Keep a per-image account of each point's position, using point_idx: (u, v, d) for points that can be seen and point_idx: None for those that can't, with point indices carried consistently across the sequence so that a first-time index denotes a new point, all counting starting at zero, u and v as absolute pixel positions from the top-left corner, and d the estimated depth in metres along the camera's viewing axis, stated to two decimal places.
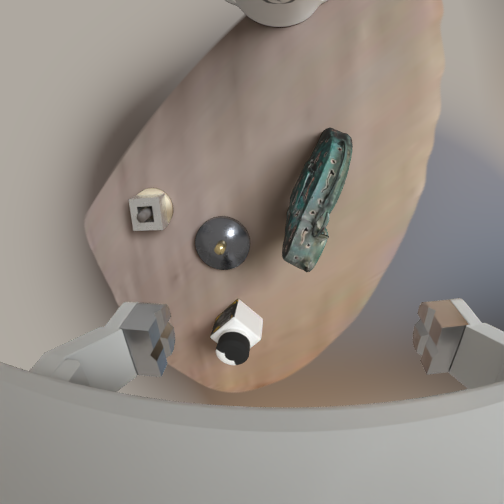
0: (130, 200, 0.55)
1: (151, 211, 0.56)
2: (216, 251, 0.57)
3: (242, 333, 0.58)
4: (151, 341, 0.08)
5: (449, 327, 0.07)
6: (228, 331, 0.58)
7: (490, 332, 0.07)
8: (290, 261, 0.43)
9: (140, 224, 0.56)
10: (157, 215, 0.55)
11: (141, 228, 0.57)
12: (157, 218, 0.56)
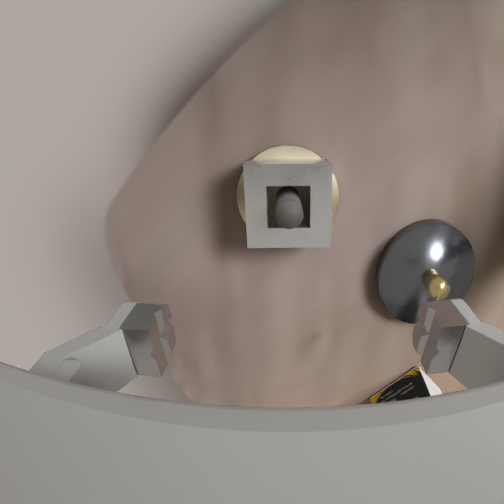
0: (248, 168, 0.21)
1: (300, 200, 0.23)
2: (435, 294, 0.24)
3: None
4: (151, 341, 0.08)
5: (449, 327, 0.07)
6: None
7: (490, 331, 0.07)
8: None
9: (270, 232, 0.23)
10: (322, 211, 0.22)
11: (271, 242, 0.23)
12: (320, 218, 0.22)
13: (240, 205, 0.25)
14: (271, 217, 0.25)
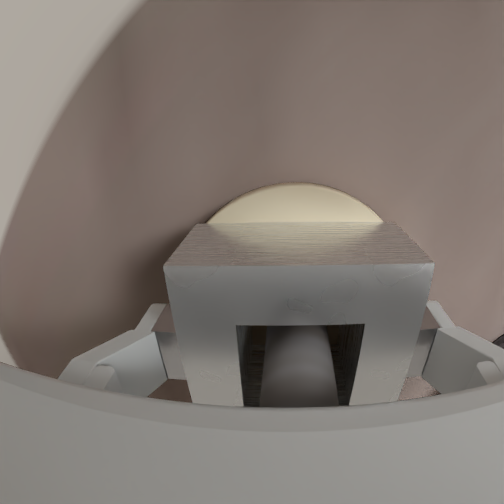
0: (180, 276, 0.07)
1: (328, 342, 0.08)
2: None
3: None
4: None
5: None
6: None
7: (463, 335, 0.07)
8: None
9: None
10: (384, 376, 0.08)
11: None
12: (377, 390, 0.08)
13: None
14: (256, 354, 0.11)
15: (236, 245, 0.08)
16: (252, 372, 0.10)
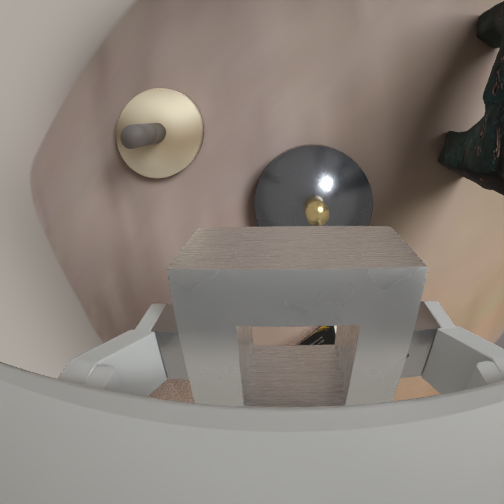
0: (183, 279, 0.07)
1: (156, 129, 0.23)
2: (310, 217, 0.24)
3: None
4: None
5: (419, 330, 0.08)
6: None
7: (463, 335, 0.07)
8: None
9: None
10: (379, 375, 0.08)
11: None
12: (373, 389, 0.08)
13: (119, 145, 0.26)
14: (255, 354, 0.11)
15: (236, 249, 0.08)
16: (252, 371, 0.10)
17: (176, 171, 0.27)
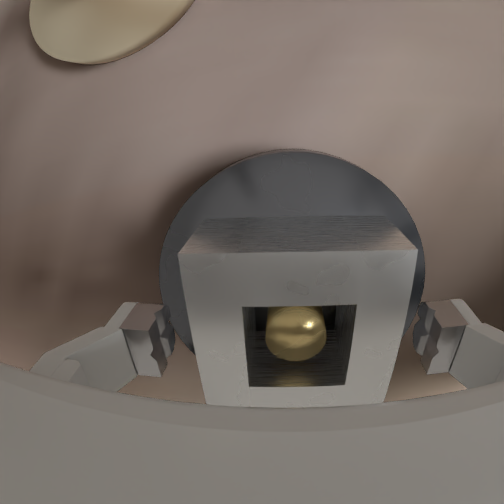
0: (192, 262, 0.08)
1: None
2: (275, 335, 0.09)
3: None
4: (151, 341, 0.08)
5: (449, 327, 0.07)
6: None
7: (490, 332, 0.07)
8: None
9: (255, 393, 0.10)
10: (376, 354, 0.09)
11: None
12: (371, 368, 0.09)
13: None
14: (259, 339, 0.12)
15: (241, 236, 0.09)
16: (256, 355, 0.11)
17: (82, 58, 0.09)
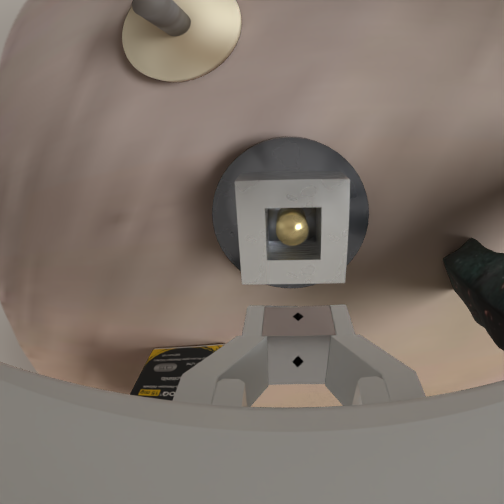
0: (241, 185, 0.17)
1: (180, 16, 0.14)
2: (281, 228, 0.18)
3: None
4: (298, 347, 0.08)
5: (309, 336, 0.08)
6: None
7: (358, 345, 0.07)
8: None
9: (270, 265, 0.18)
10: (335, 239, 0.17)
11: (272, 277, 0.19)
12: (334, 248, 0.18)
13: (130, 14, 0.16)
14: (271, 244, 0.20)
15: (264, 176, 0.17)
16: (270, 249, 0.20)
17: (166, 78, 0.18)
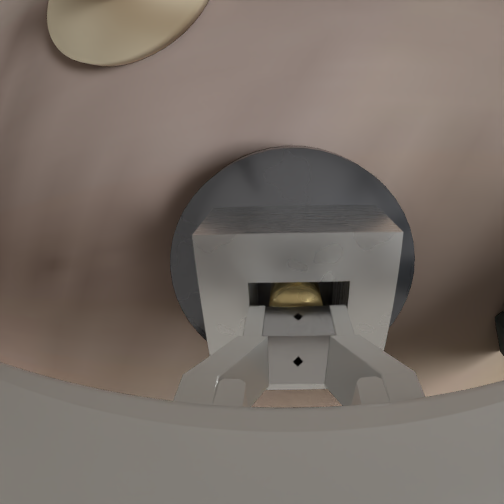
0: (205, 243, 0.09)
1: None
2: None
3: None
4: (299, 347, 0.08)
5: (308, 336, 0.08)
6: None
7: (358, 345, 0.07)
8: None
9: None
10: (369, 329, 0.10)
11: None
12: None
13: None
14: None
15: (247, 221, 0.10)
16: None
17: (99, 60, 0.10)
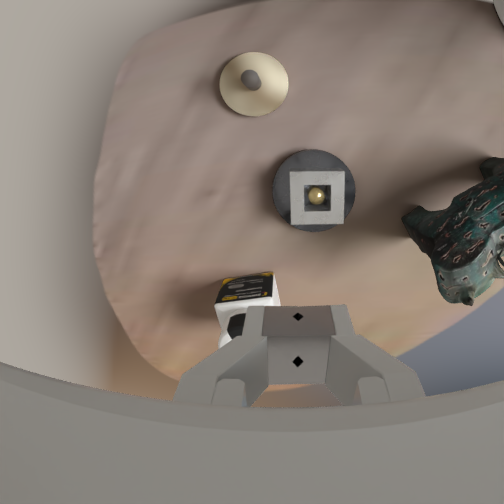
0: (293, 173, 0.34)
1: (259, 83, 0.32)
2: (311, 195, 0.35)
3: None
4: (298, 347, 0.08)
5: (309, 336, 0.08)
6: None
7: (359, 345, 0.07)
8: (454, 279, 0.25)
9: (306, 214, 0.36)
10: (338, 200, 0.35)
11: (306, 220, 0.36)
12: (337, 205, 0.35)
13: (223, 72, 0.33)
14: (304, 205, 0.38)
15: (302, 169, 0.35)
16: (304, 207, 0.37)
17: (248, 114, 0.35)
